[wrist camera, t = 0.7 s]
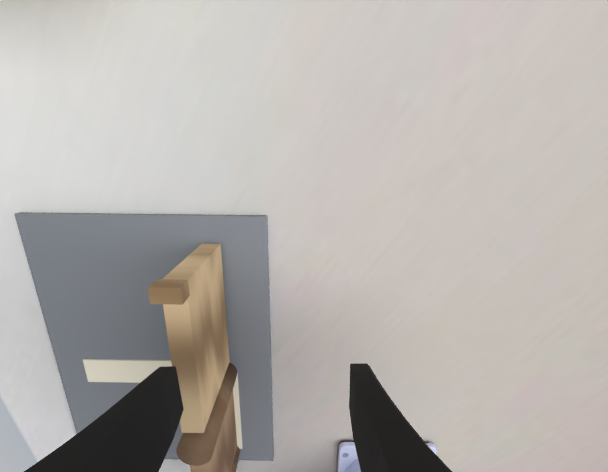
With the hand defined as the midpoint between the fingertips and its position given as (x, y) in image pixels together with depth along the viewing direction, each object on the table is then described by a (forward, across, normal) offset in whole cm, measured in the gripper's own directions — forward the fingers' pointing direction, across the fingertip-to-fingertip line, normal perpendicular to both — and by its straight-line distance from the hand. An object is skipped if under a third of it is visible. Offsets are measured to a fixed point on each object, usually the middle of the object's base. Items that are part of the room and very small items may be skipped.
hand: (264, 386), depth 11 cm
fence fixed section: (+9, +5, +11) cm, 15 cm away
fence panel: (+9, +5, +2) cm, 10 cm away
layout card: (+9, +9, +6) cm, 14 cm away
